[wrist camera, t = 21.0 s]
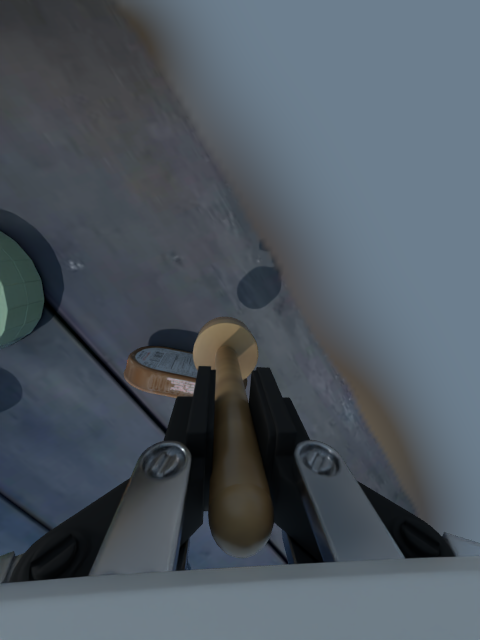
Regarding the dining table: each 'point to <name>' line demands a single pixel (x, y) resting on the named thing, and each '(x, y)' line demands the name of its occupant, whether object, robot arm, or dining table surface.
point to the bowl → (18, 293)
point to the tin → (162, 371)
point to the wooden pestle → (234, 442)
